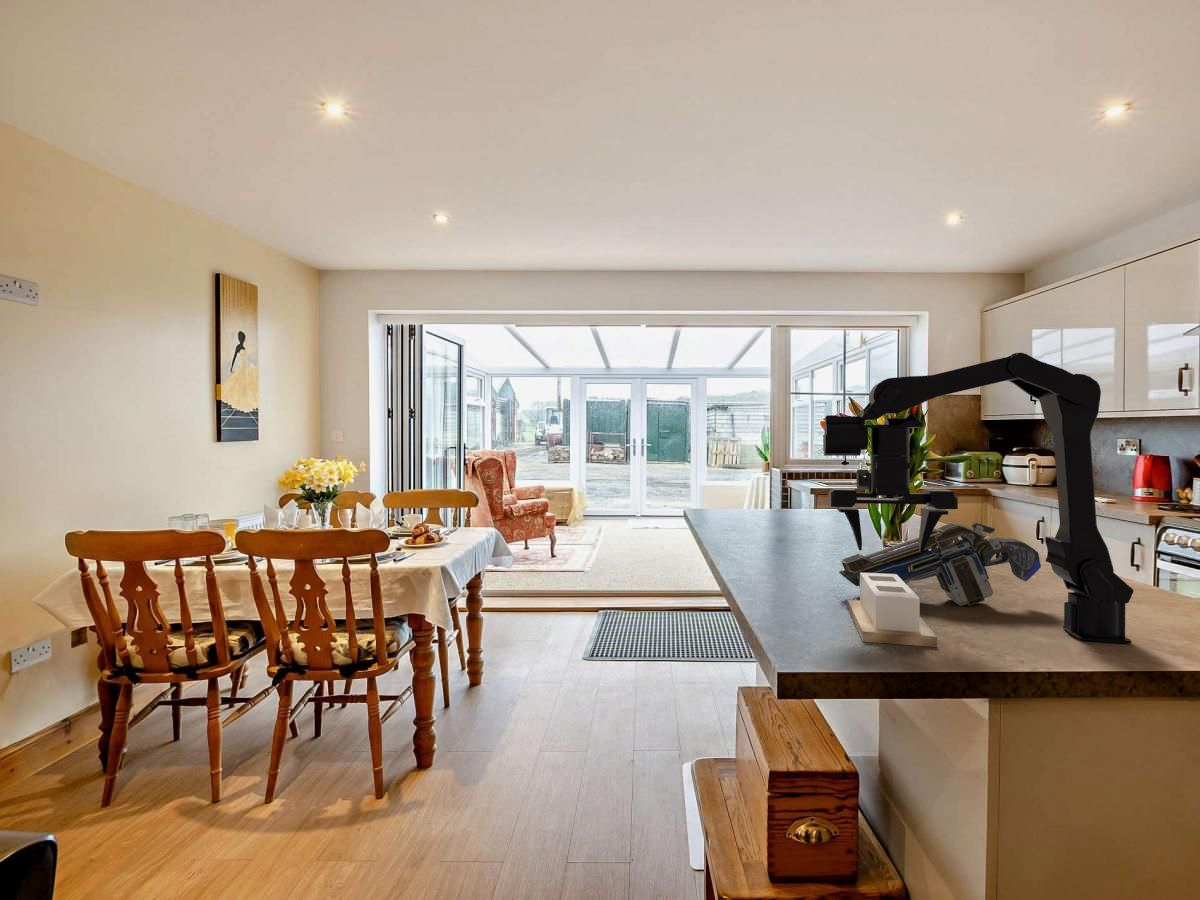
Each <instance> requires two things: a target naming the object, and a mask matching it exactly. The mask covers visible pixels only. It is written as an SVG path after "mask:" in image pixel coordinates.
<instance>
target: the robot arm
mask: <svg viewBox="0 0 1200 900" xmlns="http://www.w3.org/2000/svg"><path fill="white" fill-rule="evenodd" d="M1006 381H1007V382H1010V383H1012V384H1013V385H1014V386H1016V387H1017V388H1019V389H1020V390H1021V391H1022V392H1024V393H1026V394H1028V395H1029V396H1031V397H1033V398H1035V399H1037V400H1038V401H1039V404H1040V407H1041V411H1042V414H1043V415H1042V416H1043V418H1044V420H1045V422H1046V424H1047V426H1048V427H1049V430H1050V431H1051V434H1052V437H1053V445H1054V462H1055V463H1054V464H1055V475H1056V488H1057V489H1056V490H1057V491H1056V492H1057V503H1058V516H1059V518H1058V519H1059V527H1058V529H1057V531H1056V533H1055V536H1045V537H1044V541H1045V545H1046V550H1047V554H1046V555H1047V556H1046V558H1045V562H1047V563H1049V564H1050V566H1051V569H1052V572H1054V573H1055V574H1056V576H1058V577H1059V578H1060V579H1062V580H1063V583H1064V586H1065V588H1066V589H1067V590H1070V591H1071V592H1070V591H1068V592H1067V601H1065V602H1064V603H1063V604H1064V605H1063V611H1064V612H1063V625H1062V629H1063V630H1065V631H1066V632H1068V633H1069V634H1070V635H1072V636H1074V637H1076V638H1077V639H1079V640H1081V641H1087V642H1103V643H1105V642H1106V643H1121V644H1132V639H1130V638H1129V637H1127V636H1126V604H1129V603H1130V601H1131V599H1132V596H1133V594H1134V589H1133V588H1132V587H1131V586H1130V585H1129V584H1128V583H1126V582H1125V581H1124V580H1123V579H1122V578H1121V577H1119V576H1118V575H1117V574H1116V573H1115V572H1114V571H1115V569H1114V565H1113V562H1112V559H1111V558H1112V557H1111V554H1110V551H1109V548H1108V546H1107V544H1106V542H1105V540H1104V538H1103V536H1102V535H1101V533H1100V531H1099V528H1098V523H1097V510H1096V496H1095V483H1094V482H1095V481H1094V469H1093V468H1094V467H1093V465H1094V464H1093V454H1092V453H1093V452H1092V439H1091V437H1092V436H1091V434H1092V429H1093V428H1094V425H1095V423H1096V420H1097V419H1098V416H1099V413H1100V411H1099V410H1100V404H1101V403H1100V402H1101V395H1102V390H1101V386H1100V384H1099V382H1098V380H1095V379H1094V378H1092V377H1091V376H1090V375H1087V374H1083V373H1072V372H1070V371H1068V370H1066V369H1064V368H1062V367H1058V366H1057V365H1052V364H1050V363H1047V362H1044V361H1041V360H1039V359H1037V358H1034V357H1033V356H1031V355H1029V354H1027V353H1024V352H1014V353H1012V354H1010V355H1009V354H1008V355H1006V356H1004V357H1001V358H997V359H993V360H989V361H984V362H981V363H980V362H979V363H977V364H973V365H969V366H963V367H960V368H955V369H951V370H948V371H943V372H939V373H935V374H930V375H928V374H927V375H912V376H911V375H910V376H897V377H896V376H895V377H889V378H886V379H883V380H881V381H880V382H878V383H876V384H875V385H874V386H872V389H870V392H869V396H868V403H867V405H866V406H865V407H864V408H863V409H862V410H860V413H859V415H850V416H848V415H847V416H845V415H844V416H842V415H841V416H839V415H835V414H834V415H829V414H828V415H826V416H824V432H823V433H824V434H822V440H823V441H822V444H823V445H822V446H823V447H822V448H823V456H824V457H828V456H829V457H838V456H839V457H842V456H843V457H844V456H845V457H850V456H851V457H854V456H856V457H857V456H859V457H860V456H861V453H862V451H865V450H867V449H869V448H868V447H869V429H870V470H869V469H857V470H856V478H855V479H856V480H855V481H856V489H857V490H867V491H868V492H857V490H856V489H855V488H853V487H852V488H851V487H848V488H845V487H844V488H843V487H832V488H831V489H829V491H828V496H827V497H828V499H827V501H828V505H829V506H830V507H832V508H836V510H837V511H838V512H839V513H844V515H845V517H846V518H847V521H848V523H849V525H850V529H851V531H852V534H853V536H854V541H855V543H856V546H857V549H858V551H862V550H863V538H862V528H861V518H860V510H859V509H858V508H857V507H856V506H857V504H877V505H878V504H881V505H883V504H884V505H885V504H886V505H923V507H920V527H919V533H918V534H919V535H918V537H919V552H920V553H923V551H924V549H925V547H926V544H927V542H928V540H929V537H930V535H931V533H932V531H933V529H935V527H936V525H937V524H938V522H939V521H940V519H941V517H942V516H943V515H944V516H945V515H947V516H948V515H949V511H948V510H958V509H959V506H958V505H959V504H958V503H959V502H958V501H959V500H958V499H959V498H958V495H957V493H956V492H955V491H953V490H949V489H944V488H942V489H939V488H938V489H937V488H933V489H932V488H928V489H927V488H924V489H923V490H922V493H918V492H917V493H916V492H913V493H912V492H911V491H910V490H911V489H910V467H911V466H910V465H911V464H910V429H916V428H923V427H924V422H922V421H920V420H919V419H918V418H916V416H915V414H914V413H913V412H910V413H907V414H906V416H905V417H891V418H890V417H889V418H888V417H886V418H885V420H884V423H883V424H866V423H865V422H871V421H876V420H878V419H880V418H881V417H883V416H889V415H890V416H891V415H895V414H898V413H901V412H904V411H906V410H909V409H911V408H914V407H916V406H919V405H921V404H923V403H926V402H928V401H930V400H933V399H935V398H938V397H942V396H947V395H951V394H955V393H960V392H964V391H968V390H973V389H976V388H981V387H985V386H989V385H994V384H998V383H1002V382H1006ZM879 496H880V497H879Z"/></svg>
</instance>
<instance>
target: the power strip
mask: <svg viewBox="0 0 1200 900" xmlns="http://www.w3.org/2000/svg"><path fill="white" fill-rule="evenodd" d="M859 600H860V602H861V604H862V605H863V607H864V609H865V611H866V612H867V614H868V616H869V618H870V620H871V621H872V623H873V625H874V627H875V629H880V630H895V631H910V632H920V617H921V615H920V612H921V611H920V609H921V608H920V606H921V602H920V597H919V596H918V595H917V594H916V592H914V590H913V589H911V588H910V586H908V584H907V583H906V584H905V583H904V582H903V581H902V579H901V578H900V577H899V576H898V575H897V574H881V573H860V587H859Z"/></svg>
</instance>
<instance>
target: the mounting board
mask: <svg viewBox="0 0 1200 900" xmlns="http://www.w3.org/2000/svg"><path fill="white" fill-rule="evenodd" d="M846 604H847V610H848V612H849V614H850V617H851V619H852V621H853V624H854V626H855V627H856V630H857V632H858V634H859V637H860V638H861V641H862V642H863V643H864V642H866V643H879V644H889V645H890V644H892V645H905V646H906V645H907V646H917V647H930V648H931V647H934V648H937V647H938V636H937V635H936V633H934V631H933V630H932V629H931V627H929V625H928V624H927V623H926V622H925V621H924V620H923V618H922V617H921V616H920V632H910V631H895V630H880V629H875V627H874V625H873V623H872V621H871V620H870V618H869V616H868V614H867V612H866V611H865V609H864V607H863V605H862V604H861V602H860V599H847V603H846Z"/></svg>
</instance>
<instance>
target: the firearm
mask: <svg viewBox="0 0 1200 900" xmlns="http://www.w3.org/2000/svg"><path fill="white" fill-rule="evenodd" d="M995 531H996V528H995V527H992V526H987V525H984V524H982V523H980V522H979V523H978V522H972V524H971V528H970V527H968V526H966V525H962V524H957V523H952V522H951V523H948V524H945V525H942V526H941V527H940V526H939V527H938V528H937V529H936V528H934V529H933V531H932V533H931V535H930V537H929V540H928V542H927V544H926V547H925V549H924V551H923V553H920V552H919V536H918V537H915V538H913V539H910V540H907V541H904V542H901V543H898V544H895V545H893V546H890V547H887V548H884V549H881V550H878V551H875V552H872V553H869V554H866V555H862V554H860V553H857V554H853V555H851V556H848V557H845V558H842V560H841V564H842V567H843V568H844V570H840V571H839V572H838V573H839V574H840V575H841V576H842V577H843V578H845V580H847V581H848V582H850V583H851V584H853V585H854V586H855V587H858V588H860V573H881V574H897V575H898V576H899V577H900V578H901V579H902V581H903V582H904V583H905V584H906V585H907V583H910V582H913V581H921V580H925V579H930V578H933V577H936V579H937V581H938V583H939V586H940V588H941V590H943V591H944V592H945V595H946V596H947V598H948V599H950V600H951V601H953V602H954V603H955V604H956V605H958V606H959V607H962V606H969V607H970V606H972V605H976V604H979V603H981V602H985V599H987V598H990V597H992V596H993V595H994V590H993V587H992V585H991V583H990V581H989V579H990V577H989V574H988V571H987V569H986V568H987V567H992V566H998V565H1003V564H1006V563H1009V565H1010V569H1011V573H1012V574H1013V575H1014V576H1015V577H1016V578H1017V579H1018V580H1021V581H1024V582H1027V581H1028V580H1030V579H1031V578H1032V577H1033V576H1034V575H1035V574H1036V573H1037V572H1038V571H1039V570H1040V569H1041V568H1042V565H1041V560H1040V555H1039V552H1038V551H1037V550H1036V549H1035V548H1033V547H1031V546H1030V545H1029V544H1027V543H1025V542H1024V541H1021V540H1018V539H1016V538H1001V537H994V535H993V536H989V537H987V536H986V535H984V534H983V532H985V533H987V534H990V535H992V534H993V533H994V532H995ZM959 537H960V538H961V539H959ZM930 549H931V550H930Z"/></svg>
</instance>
